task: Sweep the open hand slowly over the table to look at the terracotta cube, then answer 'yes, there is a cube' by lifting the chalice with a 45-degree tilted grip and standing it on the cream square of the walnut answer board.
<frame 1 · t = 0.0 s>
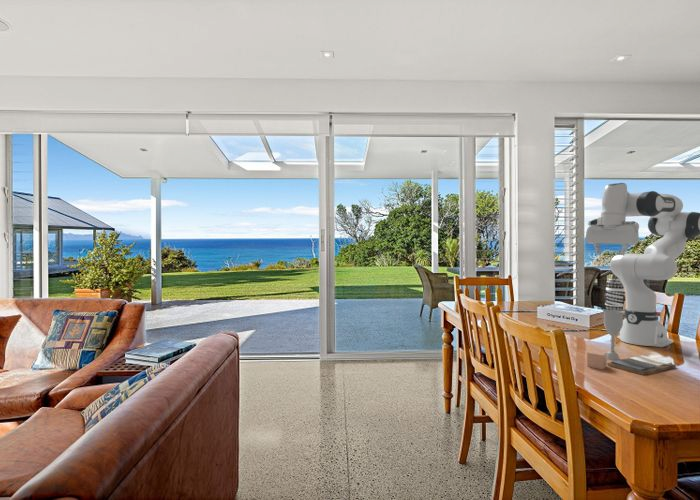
hand: (609, 255, 175), 39 cm above the table, tool pointing down, fingers open, 8 cm apart
decorative candle: (613, 328, 218), on the table
terracotta cube: (596, 366, 151), on the table
chalice: (612, 358, 162), on the table
answer board: (641, 366, 152), on the table
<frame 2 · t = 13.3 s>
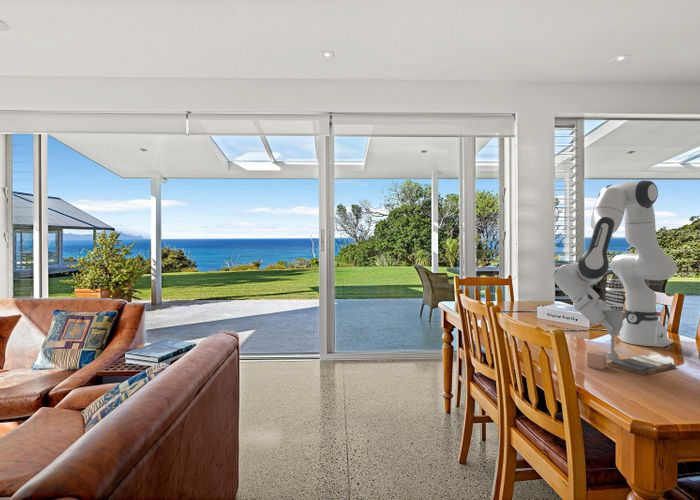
hand: (614, 328, 161), 11 cm above the table, tool tilted 45°, fingers closed on chalice, 6 cm apart
chalice: (612, 358, 162), on the table, touching gripper
everything else where it was.
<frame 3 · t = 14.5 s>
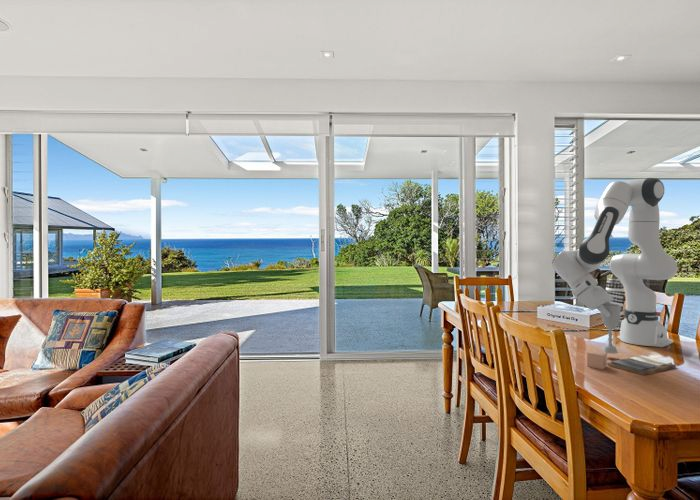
hand: (612, 314, 161), 17 cm above the table, tool tilted 45°, fingers closed on chalice, 6 cm apart
chalice: (610, 352, 162), point 2 cm above the table, touching gripper
everything else where it was.
when the fingers open (14 cm above the table, at t = 19.4 s): chalice stays where it is, resting on answer board.
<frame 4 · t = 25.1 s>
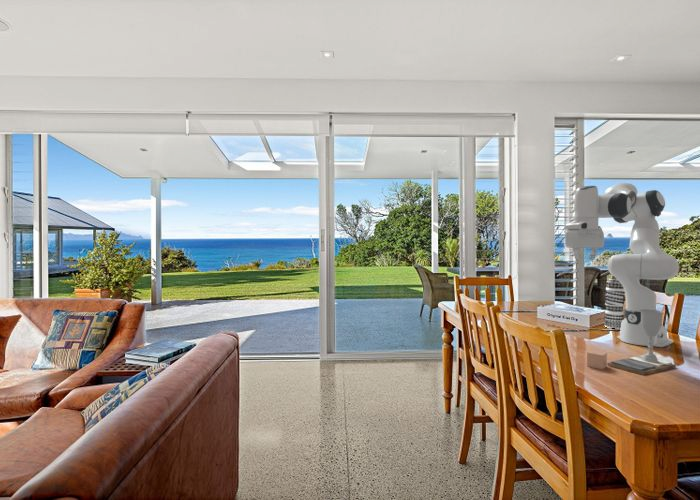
hand: (585, 258, 175), 37 cm above the table, tool pointing down, fingers open, 8 cm apart
chalice: (650, 361, 153), point 1 cm above the table, touching answer board
everything else where it was.
at the end: chalice inside the target area (0.4 cm from its centre), point 1.4 cm above the table; chalice tilted 0°; the gripper is holding nothing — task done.
